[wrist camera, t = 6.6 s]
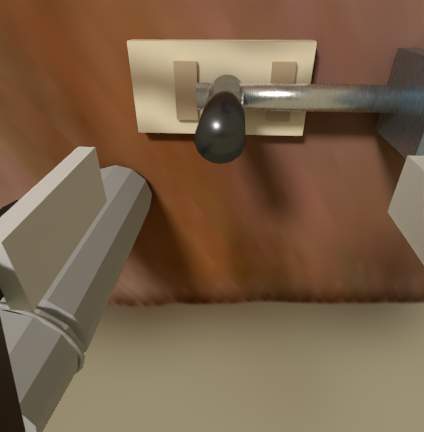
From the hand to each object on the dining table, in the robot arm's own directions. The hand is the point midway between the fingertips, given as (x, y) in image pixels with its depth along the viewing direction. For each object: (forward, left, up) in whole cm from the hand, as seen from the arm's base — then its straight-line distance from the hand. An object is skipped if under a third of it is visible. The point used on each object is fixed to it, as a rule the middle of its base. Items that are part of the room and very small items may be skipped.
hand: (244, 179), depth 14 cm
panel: (0, -2, -20) cm, 20 cm away
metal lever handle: (0, +5, -19) cm, 19 cm away
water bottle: (+12, -14, -20) cm, 27 cm away
